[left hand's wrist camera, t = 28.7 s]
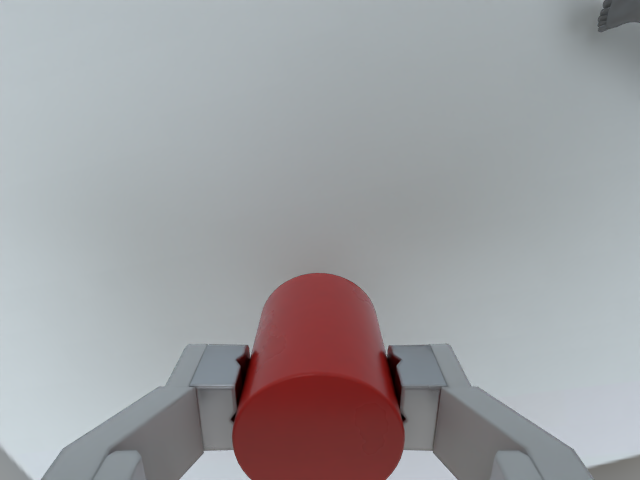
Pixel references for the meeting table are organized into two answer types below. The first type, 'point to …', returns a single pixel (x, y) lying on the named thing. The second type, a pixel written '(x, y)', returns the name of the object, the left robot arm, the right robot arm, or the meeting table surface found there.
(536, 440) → the left robot arm
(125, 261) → the meeting table surface
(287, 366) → the tin
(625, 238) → the meeting table surface
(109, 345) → the meeting table surface
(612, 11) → the figurine
